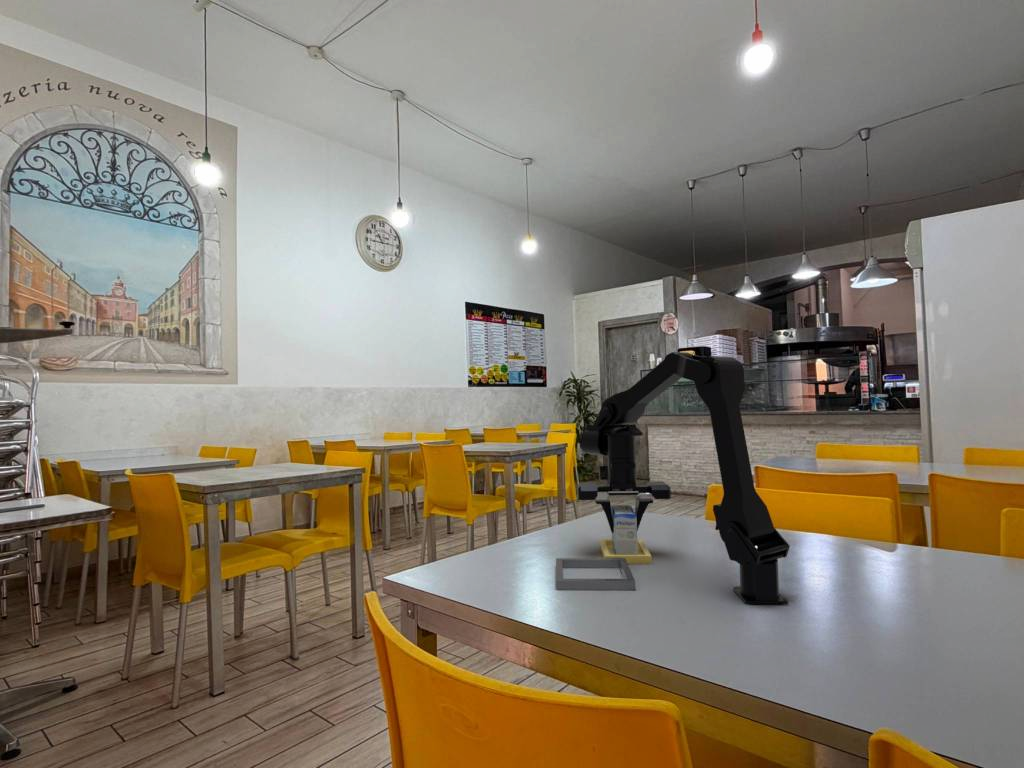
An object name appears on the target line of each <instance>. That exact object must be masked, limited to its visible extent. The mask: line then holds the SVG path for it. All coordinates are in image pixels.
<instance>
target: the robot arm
mask: <svg viewBox="0 0 1024 768" xmlns="http://www.w3.org/2000/svg"><path fill="white" fill-rule="evenodd" d="M682 378H683V379H686V380H689V381H692V382H693V383H694V386H695V390H696V392H697V395H698V396H699V398H700V399H701V400H702V402H703V403H704V405H705V406H706V408H707V409H708V412H709V416H710V417H709V418H710V421H711V428H712V435H713V439H714V444H715V451H716V457H717V462H718V467H719V474H720V479H721V485H722V489H723V490H722V491H723V496H722V498H721V502H720V503H717V504H714V505H713V506H712V511H713V512H712V513H713V515H714V518H715V529H714V530H715V531H718V534H719V536H720V539H721V540H722V542H723V544H724V546H725V549H726V553H727V555H728V558H729V561H733V562H736V563H737V564H738V565H739V586H732V587H733V588H732V590H733V591H734V592H735V593H736V595H737V596H738V597H739V599H740V600H742V601H743V602H744V603H745V604H748V605H749V604H752V605H754V604H755V605H757V604H758V605H759V604H761V605H762V604H763V605H764V604H765V605H768V604H769V605H771V604H772V605H776V604H777V605H787V604H789V600H788V599H787V598H786V597H785V596H784V595H783V594H782V593H780V584H779V582H780V580H779V578H780V577H779V559H782V558H787V556H788V554H789V551H790V547H791V546H790V544H789V542H787V540H786V539H784V537H783V536H782V535H781V533H780V532H779V531H778V530H777V528H776V527H775V526H774V524H773V520H772V517H771V514H770V512H769V509H768V507H767V504H766V503H765V502H764V501H763V499H762V498H761V496H760V495H759V494H758V492H757V491H756V487H755V483H754V478H753V477H754V476H753V471H752V467H751V460H750V456H749V451H748V444H747V439H746V435H745V429H744V423H743V419H742V418H743V417H742V412H741V401H742V398H743V396H744V391H745V369H744V366H743V364H742V362H741V361H739V360H738V359H737V358H735V357H732V356H715V355H714V356H711V355H709V356H708V355H707V356H700V355H696V354H692V353H690V352H686V351H685V352H683V351H682V352H680V351H674V352H673V351H672V352H670V353H668V354H666V356H665V357H664V359H663V360H661V362H659V363H658V364H657V365H656V366H655V367H653V368H651V370H650V371H648V372H647V373H646V374H645V375H644V376H643V377H642V378H641V379H639V380H638V381H637V382H636V383H634V384H633V385H632V386H631V387H629V388H628V389H626V390H623V391H621V392H618V393H614V394H613V395H611V396H609V397H607V398H605V399H604V400H603V401H602V403H601V408H600V410H599V412H598V414H597V416H596V419H595V421H594V422H593V423H587V424H586V425H585V427H586V428H585V430H584V431H583V432H582V433H581V436H580V438H579V446H580V449H581V451H583V452H584V453H585V454H588V455H595V456H596V455H597V456H605V457H606V456H607V465H599V466H598V479H599V482H606V484H607V486H606V485H605V486H602V485H601V486H598V484H597V483H596V482H579V483H578V485H577V489H576V491H577V499H578V500H579V501H594V502H595V504H596V505H601V508H602V510H603V512H604V514H605V518H606V520H607V523H608V525H609V526H608V527H609V529H610V531H611V534H612V533H614V525H613V518H612V511H611V506H612V505H611V504H612V503H611V501H610V498H609V496H634V499H635V500H634V502H635V504H634V505H635V506H634V512H635V514H636V518H637V532H638V530H639V528H640V525H641V521H642V519H643V516H644V514H645V512H646V510H647V508H648V506H649V504H654V500H653V498H654V499H655V500H670V499H672V493H671V486H669V485H668V484H667V483H666V482H664V481H647V482H646V485H637V467H636V466H637V461H636V460H637V459H636V458H637V457H636V437H640V436H641V437H642V436H643V435H644V433H643V432H642V431H641V429H639V428H638V427H637V426H636V424H635V423H637V421H638V420H639V419H640V418H641V417H642V416H643V414H644V413H645V411H646V407H647V406H648V405H649V404H650V403H651V402H652V401H653V400H655V399H656V398H657V397H659V396H660V395H661V394H662V393H664V392H665V391H666V390H668V389H669V388H670V387H672V386H673V385H674V384H676V382H678V381H679V380H681V379H682ZM652 497H653V498H652Z"/></svg>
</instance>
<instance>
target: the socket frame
mask: <svg viewBox="0 0 1024 768" xmlns="http://www.w3.org/2000/svg"><path fill="white" fill-rule="evenodd" d="M583 568H584V569H588V568H589V569H604V568H605V569H612V568H613V569H619V570H620V571H621V575H622V577H623V578H564V572H563V569H583ZM555 584H556V585H555V587H556V588H555V589H556V590H559V591H561V590H562V591H563V590H564V591H566V590H567V591H570V590H571V591H573V590H575V591H576V590H577V591H580V590H581V591H586V590H587V591H591V590H592V591H593V590H594V591H595V590H596V591H636V580H635V578H634V575H633V574H632V571H631V568H630V566H629V564H627V561H626V559H625V558H603V557H592V558H591V557H587V558H586V557H581V558H580V557H579V558H577V557H574V558H573V557H570V558H569V557H564V558H562V557H560V558H559V557H558V558H557V557H556V558H555Z"/></svg>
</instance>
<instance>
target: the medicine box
mask: <svg viewBox="0 0 1024 768" xmlns="http://www.w3.org/2000/svg"><path fill="white" fill-rule="evenodd" d="M611 511H612V518H613V525H614V533H612V532H611V539H612V544H613V547H614V550H615V553H616V555H638V544H637V539H638V531H637V518H636V514H635V510H634V508H633V507H632V505H627V504H626V505H624V504H619V505H618V504H616V505H611Z"/></svg>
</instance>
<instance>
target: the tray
mask: <svg viewBox="0 0 1024 768" xmlns="http://www.w3.org/2000/svg"><path fill="white" fill-rule="evenodd" d="M637 544H638V555H616V553H615V550H614V547H613V544H612V538H610V539H608V538H607V539H605V538H604V539H599V547H600V550H601V553H602V558H625V559H626V561H627V564H628V565H639V564H640V565H652V564H653V563H652V562H653V560H652V559H653V558H652V557H653V556H652V555H651V553H650V551H649V549H648V548H647V546H646V545H645V543H644V541H643V540H642V539H641V538H637Z"/></svg>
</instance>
